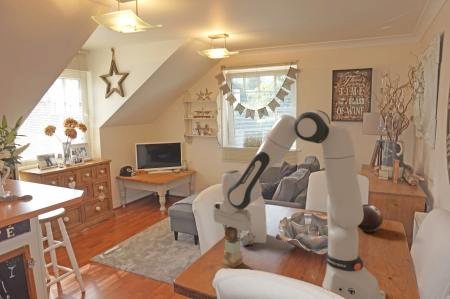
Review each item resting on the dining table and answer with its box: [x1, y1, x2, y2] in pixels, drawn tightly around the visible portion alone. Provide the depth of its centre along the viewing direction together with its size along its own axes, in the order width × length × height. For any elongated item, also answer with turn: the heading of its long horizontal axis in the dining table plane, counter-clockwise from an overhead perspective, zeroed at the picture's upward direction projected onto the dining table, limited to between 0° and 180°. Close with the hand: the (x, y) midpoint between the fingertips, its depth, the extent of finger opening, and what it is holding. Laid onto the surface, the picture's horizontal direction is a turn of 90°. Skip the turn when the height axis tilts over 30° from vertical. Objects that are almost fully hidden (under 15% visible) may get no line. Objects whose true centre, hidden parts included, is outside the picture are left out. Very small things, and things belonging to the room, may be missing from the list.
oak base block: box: [223, 249, 243, 268], centre depth 148 cm, size 6×6×6 cm
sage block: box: [224, 239, 242, 255], centre depth 147 cm, size 5×5×5 cm
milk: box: [244, 193, 268, 244], centre depth 173 cm, size 12×12×26 cm
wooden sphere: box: [357, 204, 384, 233], centre depth 181 cm, size 15×15×15 cm
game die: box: [238, 230, 256, 248], centre depth 166 cm, size 9×8×10 cm
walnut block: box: [224, 226, 240, 242], centre depth 146 cm, size 5×5×5 cm
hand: (232, 235), depth 146 cm, fingers closed on walnut block, 5 cm apart
